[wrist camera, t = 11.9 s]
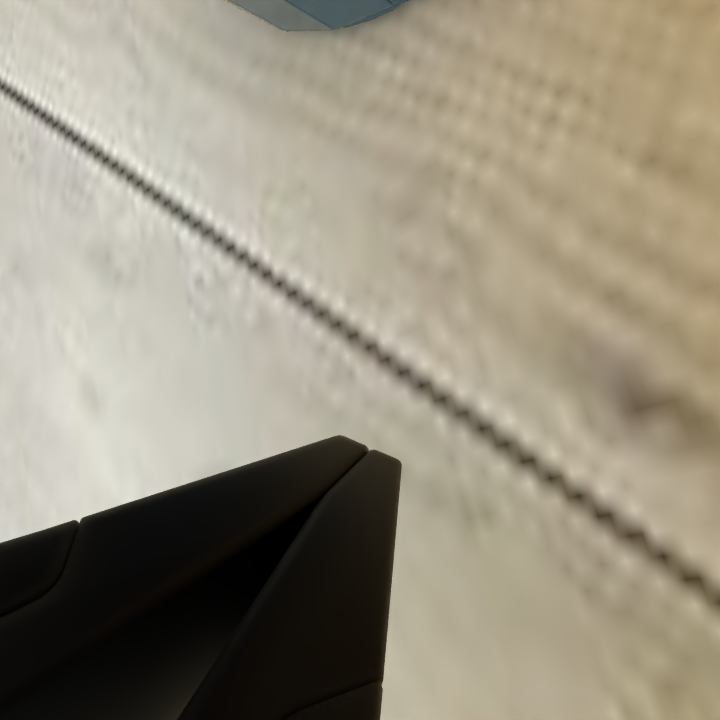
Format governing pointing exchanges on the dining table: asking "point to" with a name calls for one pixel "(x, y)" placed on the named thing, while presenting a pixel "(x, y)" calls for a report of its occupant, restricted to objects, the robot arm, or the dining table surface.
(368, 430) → the dining table surface
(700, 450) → the dining table surface
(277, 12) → the bowl
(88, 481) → the dining table surface
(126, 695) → the robot arm
